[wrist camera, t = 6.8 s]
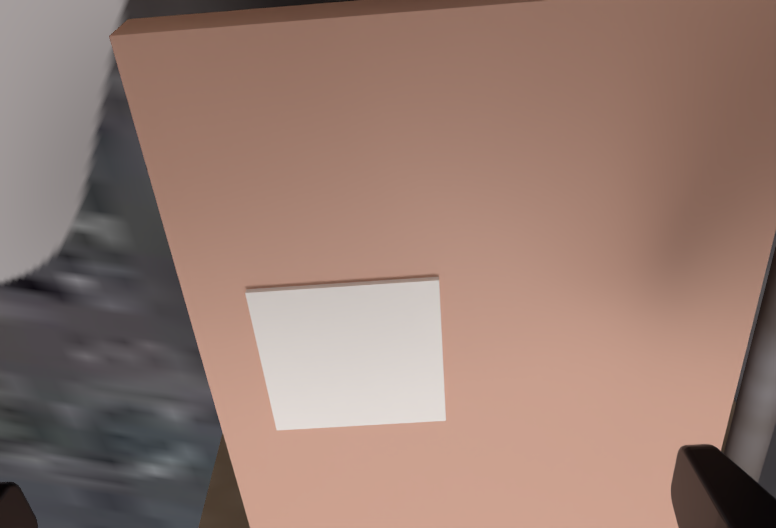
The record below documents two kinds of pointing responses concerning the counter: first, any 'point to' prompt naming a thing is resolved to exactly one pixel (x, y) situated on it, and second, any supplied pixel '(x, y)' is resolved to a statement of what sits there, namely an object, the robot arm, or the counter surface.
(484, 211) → the trapdoor
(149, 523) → the counter surface
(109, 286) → the counter surface
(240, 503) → the frame
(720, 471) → the robot arm
